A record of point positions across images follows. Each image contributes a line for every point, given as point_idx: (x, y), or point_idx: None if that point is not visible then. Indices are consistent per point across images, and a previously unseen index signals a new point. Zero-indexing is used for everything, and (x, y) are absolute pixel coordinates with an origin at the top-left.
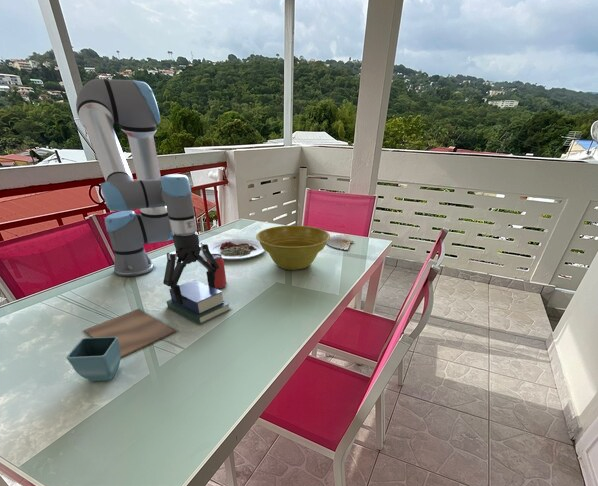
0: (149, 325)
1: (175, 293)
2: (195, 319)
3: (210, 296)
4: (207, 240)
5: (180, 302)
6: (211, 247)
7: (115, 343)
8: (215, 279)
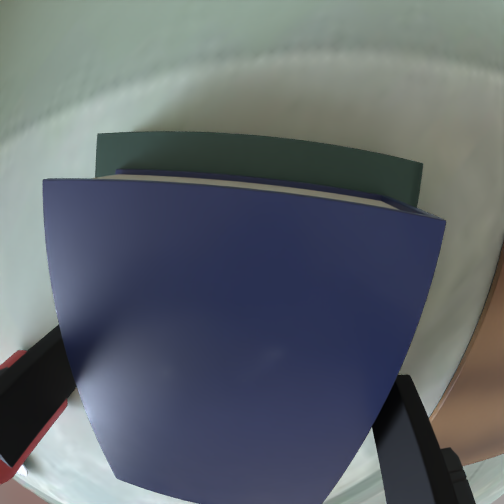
0: (496, 368)
1: (450, 463)
2: None
3: (204, 186)
4: (18, 475)
5: (414, 390)
6: None
7: None
8: None
